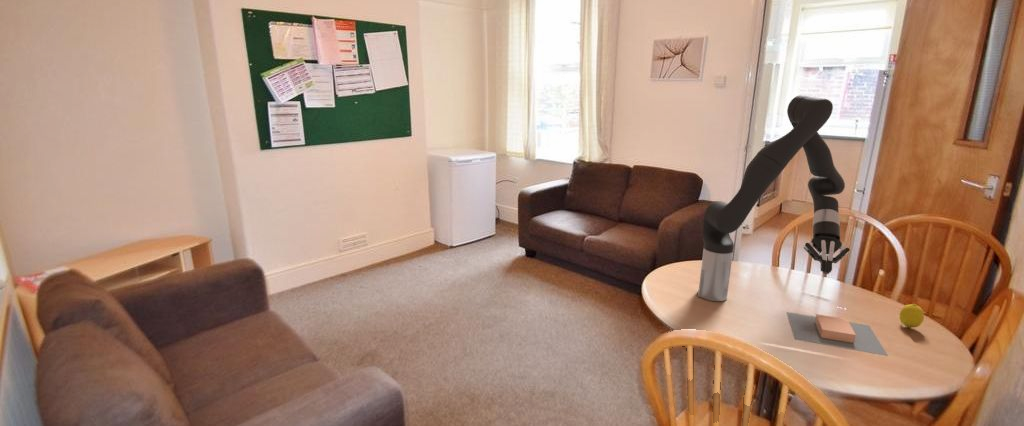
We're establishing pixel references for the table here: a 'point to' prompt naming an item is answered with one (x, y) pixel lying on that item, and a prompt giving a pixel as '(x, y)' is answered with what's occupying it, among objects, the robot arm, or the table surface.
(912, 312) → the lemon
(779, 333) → the table surface
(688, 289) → the table surface
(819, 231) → the robot arm
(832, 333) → the tile
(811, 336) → the mat
